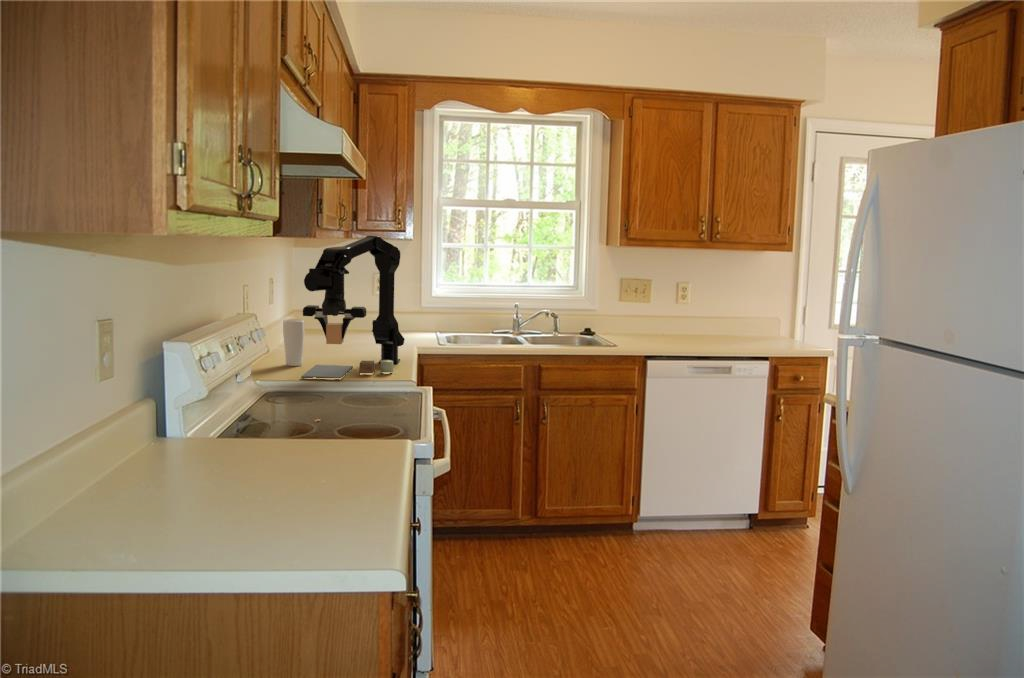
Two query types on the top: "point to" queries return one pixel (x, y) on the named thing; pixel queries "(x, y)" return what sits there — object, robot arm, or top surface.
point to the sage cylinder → (386, 366)
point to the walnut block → (366, 366)
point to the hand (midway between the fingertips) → (334, 338)
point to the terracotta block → (334, 333)
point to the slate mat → (327, 371)
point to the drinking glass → (293, 341)
